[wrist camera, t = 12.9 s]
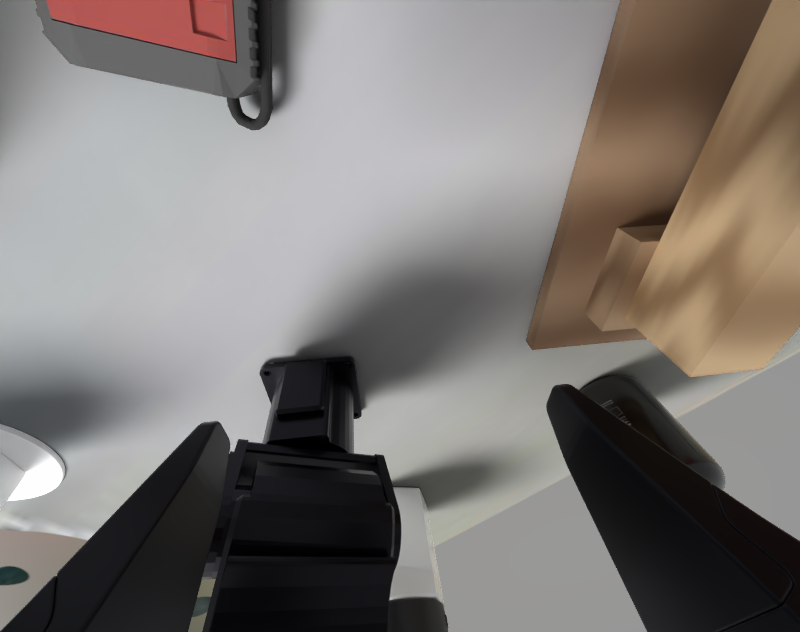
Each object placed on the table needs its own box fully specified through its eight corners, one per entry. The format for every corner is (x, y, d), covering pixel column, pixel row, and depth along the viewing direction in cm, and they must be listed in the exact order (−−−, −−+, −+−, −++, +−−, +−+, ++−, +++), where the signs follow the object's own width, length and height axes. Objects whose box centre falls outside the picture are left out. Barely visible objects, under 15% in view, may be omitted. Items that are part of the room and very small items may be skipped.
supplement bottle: (569, 429, 33) (658, 577, 24) (559, 390, 29) (662, 548, 20) (640, 405, 32) (764, 549, 22) (640, 360, 28) (790, 512, 18)
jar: (386, 527, 41) (397, 666, 32) (335, 511, 37) (330, 664, 28) (442, 497, 38) (473, 639, 29) (393, 475, 34) (410, 634, 25)
